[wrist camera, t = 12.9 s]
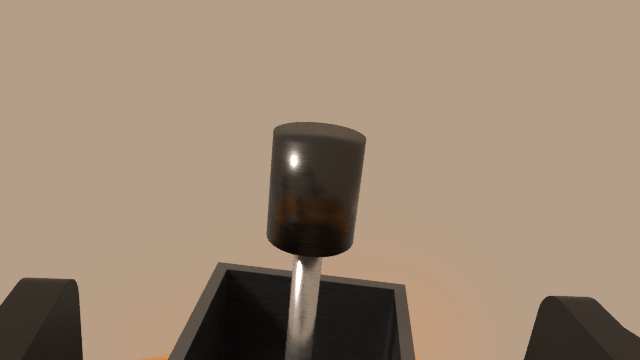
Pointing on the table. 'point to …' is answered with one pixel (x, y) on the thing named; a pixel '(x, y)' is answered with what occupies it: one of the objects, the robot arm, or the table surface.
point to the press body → (273, 311)
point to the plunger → (312, 212)
